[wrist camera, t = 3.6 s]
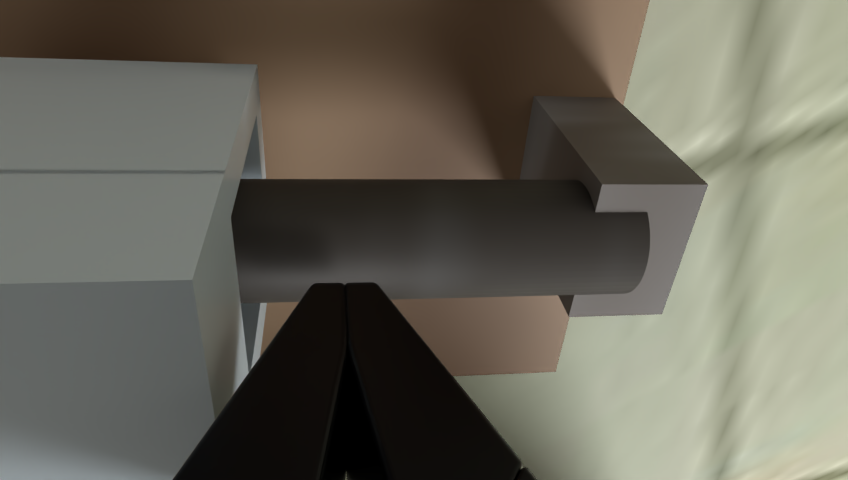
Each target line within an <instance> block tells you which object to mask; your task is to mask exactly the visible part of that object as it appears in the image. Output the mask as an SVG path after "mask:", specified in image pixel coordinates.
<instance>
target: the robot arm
mask: <svg viewBox="0 0 848 480" xmlns="http://www.w3.org/2000/svg"><path fill="white" fill-rule="evenodd" d="M522 467H523V463H522V461H521V460H520V458H519V457H518V456H517V455H516V454H515V452H514V451H513V450H512V449H511V447H510V446H509V445H508V444H507V442H506V441H505V440H504V439H503V438H502V436H501V435H500V434H499V433H498V431H497V430H496V429H495V428H494V426H493V425H492V424H491V423H490V422H489V420H488V419H487V418H486V417H485V415H484V414H483V413H482V412H481V411H480V409H479V408H478V407H477V406H476V404H475V403H474V402H473V401H472V399H471V398H470V397H469V396H468V395H467V393H466V392H465V391H464V390H463V388H462V387H461V386H460V385H459V384H458V382H457V381H456V380H455V379H454V377H453V376H452V375H451V374H450V372H449V371H448V370H447V369H446V368H445V366H444V365H443V364H442V363H441V361H440V360H439V359H438V358H437V356H436V355H435V354H434V353H433V352H432V350H431V349H430V348H429V347H428V345H427V344H426V343H425V342H424V341H423V339H422V338H421V337H420V336H419V334H418V333H417V332H416V331H415V329H414V328H413V327H412V326H411V325H410V323H409V322H408V321H407V320H406V318H405V317H404V316H403V315H402V314H401V312H400V311H399V310H398V309H397V307H396V306H395V305H394V304H393V302H392V301H391V300H390V299H389V298H388V296H387V295H386V294H385V293H384V291H383V290H382V289H381V288H380V286H379V285H378V284H376V283H374V282H353V283H346V284H345V285H344V284H343V283H314V284H313V285H311V287H310V288H309V289H308V290H307V292H306V293H305V295H304V296H303V297H302V299H301V300H300V302H299V303H298V304H297V306H296V307H295V309H294V310H293V311H292V313H291V314H290V316H289V317H288V318H287V320H286V321H285V323H284V324H283V325H282V327H281V328H280V330H279V331H278V332H277V334H276V335H275V337H274V338H273V339H272V341H271V342H270V344H269V345H268V346H267V348H266V349H265V351H264V352H263V353H262V355H261V356H260V358H259V359H258V360H257V362H256V363H255V365H254V366H253V367H252V369H251V370H250V372H249V373H248V374H247V376H246V377H245V379H244V380H243V381H242V383H241V384H240V386H239V387H238V388H237V390H236V391H235V393H234V394H233V395H232V397H231V398H230V400H229V401H228V402H227V404H226V405H225V407H224V408H223V409H222V411H221V412H220V414H219V415H218V416H217V418H216V419H215V421H214V422H213V423H212V425H211V426H210V428H209V429H208V430H207V432H206V433H205V435H204V436H203V437H202V439H201V440H200V442H199V443H198V444H197V446H196V447H195V449H194V450H193V451H192V453H191V454H190V456H189V457H188V458H187V460H186V461H185V463H184V464H183V465H182V467H181V468H180V470H179V471H178V472H177V474H176V475H175V477H174V478H173V479H172V480H345V477H346V474H347V480H537V479H536V478H535V476H534V475H533V474H532V473H531V471H530V470H529V469H528V468H522Z"/></svg>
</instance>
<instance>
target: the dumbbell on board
mask: <svg viewBox="0 0 848 480" xmlns="http://www.w3.org/2000/svg"><path fill="white" fill-rule="evenodd" d="M649 1H650V0H0V57H13V58H49V59H84V60H119V61H155V62H190V63H225V64H257V66H258V80H259V93H260V106H261V119H262V132H263V145H264V158H265V171H266V179H240V183H239V187H238V191H237V195H236V199H235V203H234V207H233V211H232V215H231V224H232V232H233V241H234V250H235V258H236V267H237V276H238V284H239V293H240V302H241V303H267V306H266V314H265V322H264V330H263V337H262V345H261V353H260V356H261V355H262V353H263V352H264V351H265V349H266V348H267V346H268V345H269V344H270V342H271V341H272V339H273V338H274V337H275V335H276V334H277V332H278V331H279V330H280V328H281V327H282V325H283V324H284V323H285V321H286V320H287V318H288V317H289V316H290V314H291V313H292V311H293V310H294V309H295V307H296V306H297V304H298V303H299V302H300V300H301V299H302V297H303V296H304V295H305V293H306V292H307V290H308V289H309V288H310V287H311V285H313V284H314V283H343V284H344V285H345V284H346V283H353V282H374V283H376V284H378V285H379V286H380V288H381V289H382V290H383V291H384V293H385V294H386V295H387V296H388V298H389V299H390V300H391V301H392V302H393V304H394V305H395V306H396V307H397V309H398V310H399V311H400V312H401V314H402V315H403V316H404V317H405V318H406V320H407V321H408V322H409V323H410V325H411V326H412V327H413V328H414V329H415V331H416V332H417V333H418V334H419V336H420V337H421V338H422V339H423V341H424V342H425V343H426V344H427V345H428V347H429V348H430V349H431V350H432V352H433V353H434V354H435V355H436V356H437V358H438V359H439V360H440V361H441V363H442V364H443V365H444V366H445V368H446V369H447V370H448V371H449V372H450V374H451V375H452V376H469V375H491V374H514V373H537V372H556V368H557V364H558V360H559V356H560V352H561V348H562V344H563V340H564V336H565V332H566V329H567V325H568V321H569V317H584V316H617V315H649V314H662V312H663V310H664V307H665V304H666V301H667V298H668V296H669V293H670V290H671V287H672V284H673V282H674V279H675V276H676V273H677V270H678V267H679V265H680V262H681V259H682V256H683V253H684V251H685V248H686V245H687V242H688V239H689V237H690V234H691V231H692V228H693V225H694V223H695V220H696V217H697V214H698V211H699V209H700V206H701V203H702V200H703V197H704V194H705V192H706V189H707V186H708V184H707V183H706V182H705V181H704V180H703V179H701V178H700V177H699V176H698V175H697V174H696V173H695V172H694V171H693V170H692V169H691V168H690V167H689V166H688V165H686V164H685V163H684V162H683V161H682V160H681V159H680V158H679V157H678V156H677V155H676V154H675V153H674V152H673V151H671V150H670V149H669V148H668V147H667V146H666V145H665V144H664V143H663V142H662V141H661V140H660V139H659V138H658V137H656V136H655V135H654V134H653V133H652V132H651V131H650V130H649V129H648V128H647V127H646V126H645V125H644V124H643V123H641V122H640V121H639V120H638V119H637V118H636V117H635V116H634V115H633V114H632V113H631V112H630V111H629V110H628V109H627V108H625V107H624V106H623V103H624V100H625V96H626V92H627V88H628V84H629V80H630V76H631V72H632V68H633V64H634V60H635V56H636V52H637V48H638V44H639V40H640V36H641V32H642V28H643V25H644V21H645V17H646V13H647V9H648V5H649Z"/></svg>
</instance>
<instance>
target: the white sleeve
mask: <svg viewBox="0 0 848 480" xmlns="http://www.w3.org/2000/svg"><path fill="white" fill-rule="evenodd" d="M240 179H266V171H265V158H264V145H263V132H262V119H261V106H260V93H259V80H258V66H257V64H225V63H190V62H155V61H119V60H84V59H49V58H13V57H0V480H172V479H173V478H174V477H175V475H176V474H177V472H178V471H179V470H180V468H181V467H182V465H183V464H184V463H185V461H186V460H187V458H188V457H189V456H190V454H191V453H192V451H193V450H194V449H195V447H196V446H197V444H198V443H199V442H200V440H201V439H202V437H203V436H204V435H205V433H206V432H207V430H208V429H209V428H210V426H211V425H212V423H213V422H214V421H215V419H216V418H217V416H218V415H219V414H220V412H221V411H222V409H223V408H224V407H225V405H226V404H227V402H228V401H229V400H230V398H231V397H232V395H233V394H234V393H235V391H236V390H237V388H238V387H239V386H240V384H241V383H242V381H243V380H244V379H245V377H246V376H247V374H248V373H249V372H250V370H251V369H252V367H253V366H254V365H255V363H256V362H257V360H258V359H259V358H260V353H261V345H262V337H263V330H264V322H265V314H266V306H267V303H241V302H240V293H239V284H238V276H237V267H236V258H235V250H234V241H233V232H232V224H231V215H232V211H233V207H234V203H235V199H236V195H237V191H238V187H239V183H240Z"/></svg>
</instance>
